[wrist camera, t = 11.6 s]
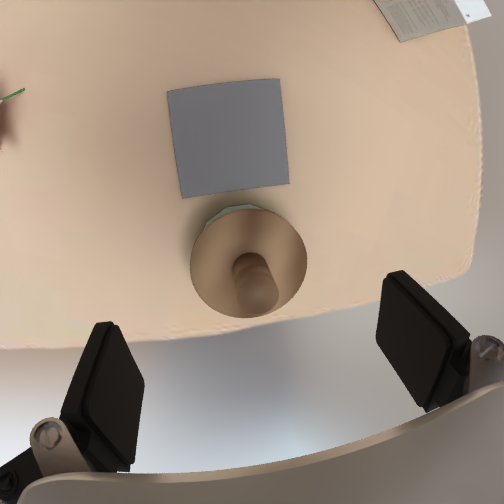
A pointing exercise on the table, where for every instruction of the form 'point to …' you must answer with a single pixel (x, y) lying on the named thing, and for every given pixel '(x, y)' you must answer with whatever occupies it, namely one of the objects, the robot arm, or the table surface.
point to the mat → (229, 136)
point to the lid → (248, 263)
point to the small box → (430, 15)
